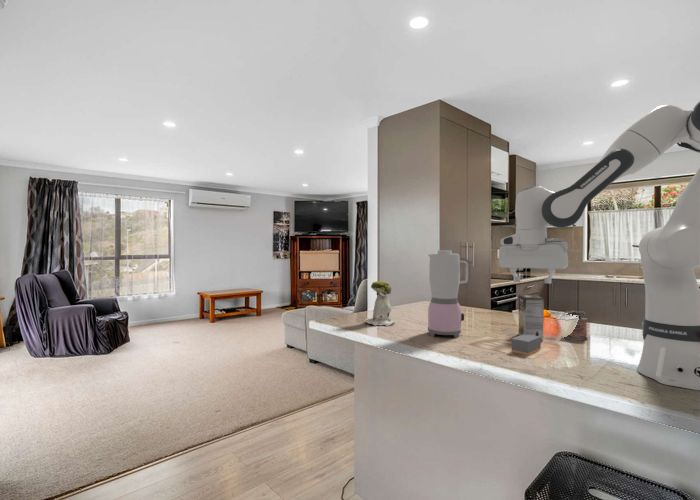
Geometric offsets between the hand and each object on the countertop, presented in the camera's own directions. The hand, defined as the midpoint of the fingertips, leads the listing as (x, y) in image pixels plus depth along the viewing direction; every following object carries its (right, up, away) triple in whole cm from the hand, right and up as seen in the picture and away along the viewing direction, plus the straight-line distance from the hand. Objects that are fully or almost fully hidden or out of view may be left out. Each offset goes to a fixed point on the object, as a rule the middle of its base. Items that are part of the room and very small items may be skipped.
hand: (532, 282), depth 117 cm
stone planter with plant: (-44, -22, +44) cm, 66 cm away
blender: (-20, -22, +24) cm, 38 cm away
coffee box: (+6, -22, +14) cm, 27 cm away
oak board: (-7, -22, +2) cm, 23 cm away
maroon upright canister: (+24, -22, +18) cm, 37 cm away
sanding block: (-3, -21, -2) cm, 21 cm away
